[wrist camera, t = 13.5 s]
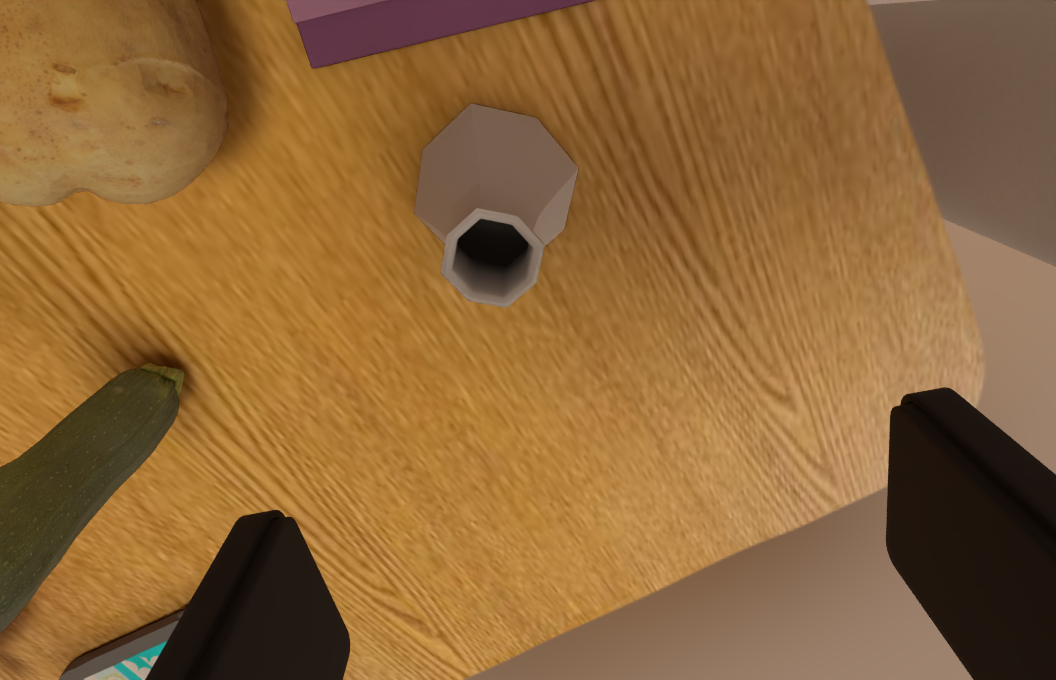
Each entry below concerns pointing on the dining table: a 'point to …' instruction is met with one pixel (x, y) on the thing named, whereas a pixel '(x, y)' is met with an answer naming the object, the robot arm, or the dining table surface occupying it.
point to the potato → (106, 99)
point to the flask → (494, 200)
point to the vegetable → (77, 475)
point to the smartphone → (124, 655)
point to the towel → (398, 23)
